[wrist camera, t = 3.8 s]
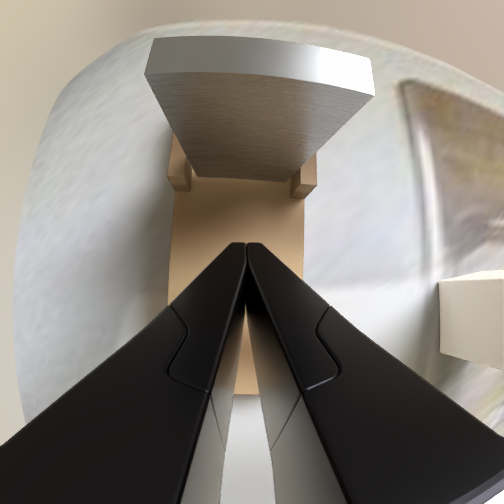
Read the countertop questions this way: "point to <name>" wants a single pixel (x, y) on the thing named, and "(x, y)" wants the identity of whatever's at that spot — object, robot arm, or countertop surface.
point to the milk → (473, 317)
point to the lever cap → (254, 101)
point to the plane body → (234, 229)
